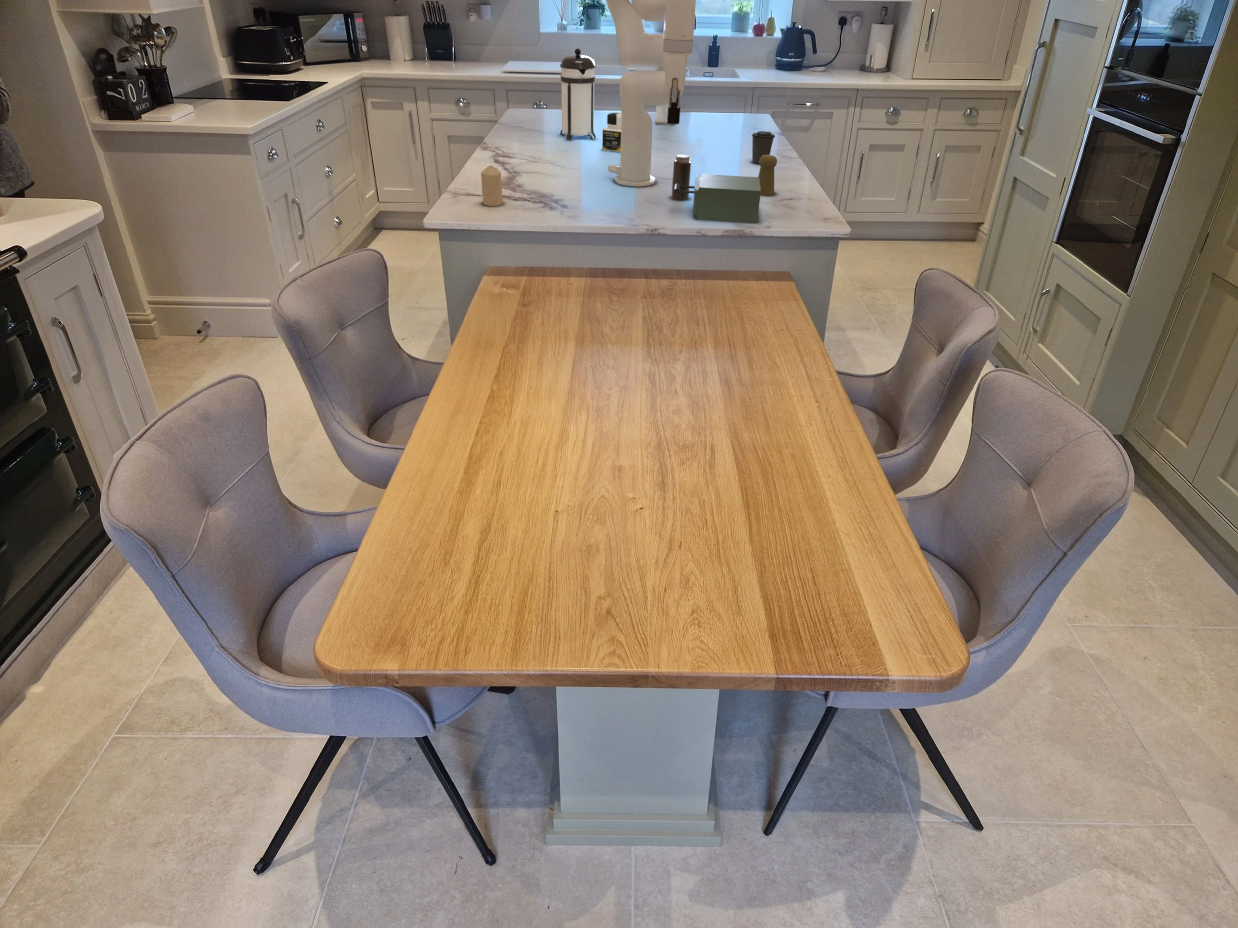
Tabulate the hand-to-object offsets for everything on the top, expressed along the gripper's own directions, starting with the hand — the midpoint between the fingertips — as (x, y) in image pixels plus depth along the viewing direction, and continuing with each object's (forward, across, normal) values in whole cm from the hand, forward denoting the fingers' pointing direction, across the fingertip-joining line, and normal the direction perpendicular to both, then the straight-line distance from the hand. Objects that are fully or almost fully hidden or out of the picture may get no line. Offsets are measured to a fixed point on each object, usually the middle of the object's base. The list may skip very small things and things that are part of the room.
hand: (673, 123), depth 217 cm
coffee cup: (+23, -63, +28) cm, 73 cm away
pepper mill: (+23, -13, +3) cm, 27 cm away
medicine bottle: (+23, -72, -23) cm, 79 cm away
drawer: (+22, 0, +12) cm, 25 cm away
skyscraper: (+23, -125, -9) cm, 127 cm away
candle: (+23, +4, -50) cm, 55 cm away
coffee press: (+23, -90, -40) cm, 101 cm away
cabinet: (+23, 0, +17) cm, 28 cm away
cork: (+23, -24, +28) cm, 44 cm away
